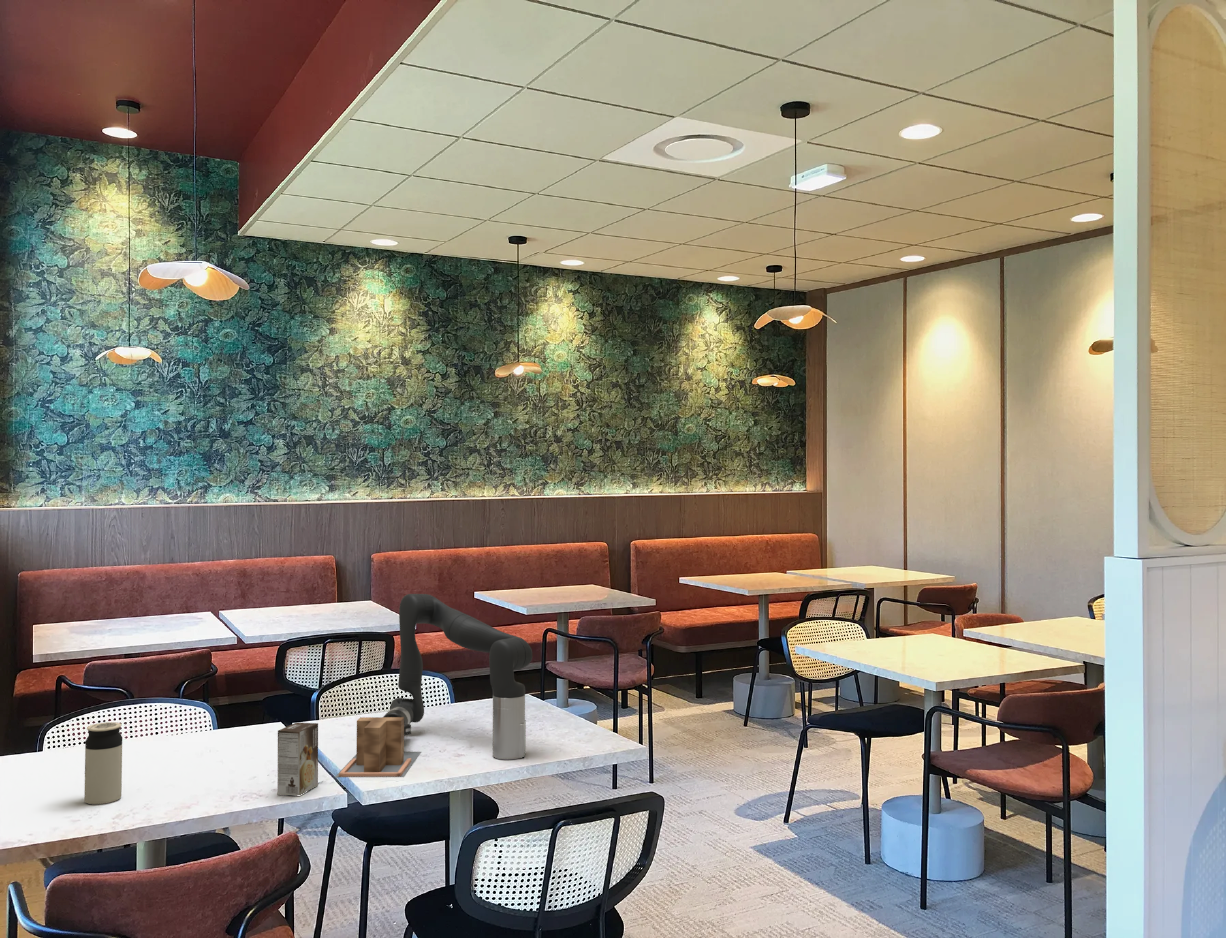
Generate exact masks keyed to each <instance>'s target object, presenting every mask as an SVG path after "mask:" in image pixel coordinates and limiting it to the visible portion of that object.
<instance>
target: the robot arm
mask: <svg viewBox="0 0 1226 938" xmlns="http://www.w3.org/2000/svg"><path fill="white" fill-rule="evenodd" d="M398 610H399V611H398V615H399V616H398V618H399V619H398V621H399V638H400V639H399V640H400V641H399V642H400V666H399V674H398V681H397V682H398V683H397V687H398V689H399V690H401V691H403V692H406V693H409V694H410V695H411V697H412V698H403V697H397V698H393V700H392V701H391V703H390V706H389V711H387V712H386V713H385V714H384V715H383V716H382V717H404V736H406V735H407V736H408V735H410V734H412V724H411V723H415V724H416V723H419V722H421V721H422V719H423V718H424V716H425V715H424V714H425V706H424V705H425V704H424V701H423V693H422V680H423V672H424V671H423V669H424V663H423V658H422V654H421V652H420V649H419V646H418V644H417V640H416V626H417V624H418V625H419V624H428V625H433V626H435V627H438V628H439V629H441V630H442V632H443V635H445V637H446V638H447V640H449V641H450V642H452V643H453V644H455V645H458V646H460V647H462V648H464V649H467V650H471V651H475V652H480V653H481V652H482V653H487V654H489V656H488V657H489V658H488V660H489V661H488V663H489V683H490V686H491V690H492V757H493V758H494V757H495V758H494V759H498V760H516V759H523V758H522V757H524V758H525V756H526V753H527V751H526V750H527V748H526V747H527V746H526V739H527V738H526V737H527V735H526V732H527V730H526V729H527V725H526V722H527V720H526V686H525V684H524V683H521V682H519V681H516V680H515V673H514V672H515V671H519V670H522V669H525V668H526V667H528V666H529V665H530V663H531V662H532V659H533V650H532V647H531V646H530V644H529V643H528V642H527V640H526V639H524V638H522V637H520V636H516V635H513V634H511V633H507V632H504V631H501V630H499V629H497V628H495V627H493V626H491V625H489V624H487V623H485V622H483V621H481V620H480V619H479V620H478V619H477V618H476V617H474V616H471V615H469V614H467V613H464V612H462V611H460V610H459V609H455V608H452V607H450V606H448V605H447V604H446V603H444V602H443V601H441V600H440V599H438V598H437V597H435V596H433V595H431V594H429V593H428V594H427V593H407V594H406V595H404V596H403V597H402V599H401V600H400V603H399V609H398ZM525 752H526V753H525Z"/></svg>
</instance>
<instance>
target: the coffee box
mask: <svg viewBox="0 0 1226 938" xmlns="http://www.w3.org/2000/svg"><path fill="white" fill-rule="evenodd" d="M317 785H318V786H319V723H318V722H317V723H316V722H295V723H292V724H290V725H287V726H285V727H283V728H281V729H279V730H277V789H276V791H277V796H284V795H301V794H303V793H305V792H306V791H308V790H310V789H311V790H312V788H313V789H314V787H315V788H316V787H318V786H317ZM311 790H310V791H311ZM308 792H309V791H308ZM306 793H307V792H306ZM306 793H305V794H306ZM303 795H304V794H303ZM301 796H302V795H301Z"/></svg>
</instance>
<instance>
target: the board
mask: <svg viewBox="0 0 1226 938" xmlns="http://www.w3.org/2000/svg"><path fill="white" fill-rule="evenodd" d="M421 753H422V751H404V761H403V763H402V764H401V765H386V766H385V767H384V768H383V770H382V771H381V772H364V765H356V754H355V755H354V756H353V757H352V758H351V759H350V760H349V761H348V762H347V763H346V764H345V765H344V767H343V768H342V769H340V771H339V772H338V773H336V775H335V777H334V778H405V777H406V775H407V774H408V772H409V771H410V769H411V768H412V766H413V765H414V763H415V762H416V761H417V759H418V758H419V757H420V755H421Z"/></svg>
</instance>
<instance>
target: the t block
mask: <svg viewBox="0 0 1226 938" xmlns="http://www.w3.org/2000/svg"><path fill="white" fill-rule="evenodd" d="M404 752H405V735H404V717H383V716H382V717H381V716H380V717H375V716H374V717H373V716H372V717H369V716H368V717H365V716H363V717H359V718H358V719H357V720H356V754H355V755H356V765H364V772H381V771H382V770H383V768H384V767H385V766H386V765H401V764H402V763H403V761H404Z"/></svg>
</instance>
